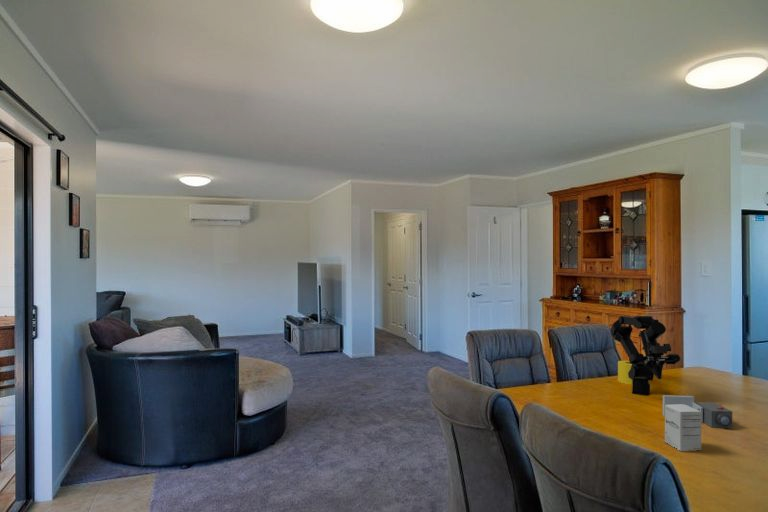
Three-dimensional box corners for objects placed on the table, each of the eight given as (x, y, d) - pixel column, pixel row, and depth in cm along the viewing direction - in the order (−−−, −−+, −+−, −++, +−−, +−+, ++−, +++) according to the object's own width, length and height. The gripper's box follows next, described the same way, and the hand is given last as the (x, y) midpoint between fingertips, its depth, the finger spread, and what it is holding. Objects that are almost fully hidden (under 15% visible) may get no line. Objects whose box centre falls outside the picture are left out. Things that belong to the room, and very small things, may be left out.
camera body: (695, 417, 176) (695, 400, 176) (714, 418, 175) (714, 401, 175) (714, 429, 164) (714, 410, 164) (735, 430, 163) (735, 411, 163)
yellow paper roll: (613, 380, 230) (613, 361, 230) (628, 378, 233) (628, 359, 233) (630, 385, 220) (630, 365, 220) (645, 383, 224) (645, 364, 224)
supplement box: (663, 442, 152) (663, 404, 153) (685, 441, 153) (685, 403, 153) (680, 452, 145) (680, 411, 145) (702, 451, 146) (702, 411, 146)
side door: (662, 415, 178) (662, 395, 178) (692, 416, 177) (692, 396, 177) (671, 421, 171) (671, 400, 171) (702, 422, 170) (702, 401, 170)
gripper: (634, 336, 194) (644, 372, 186) (681, 336, 192) (693, 373, 184) (624, 345, 203) (633, 380, 195) (669, 345, 202) (679, 381, 194)
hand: (659, 379), depth 192 cm, fingers closed
